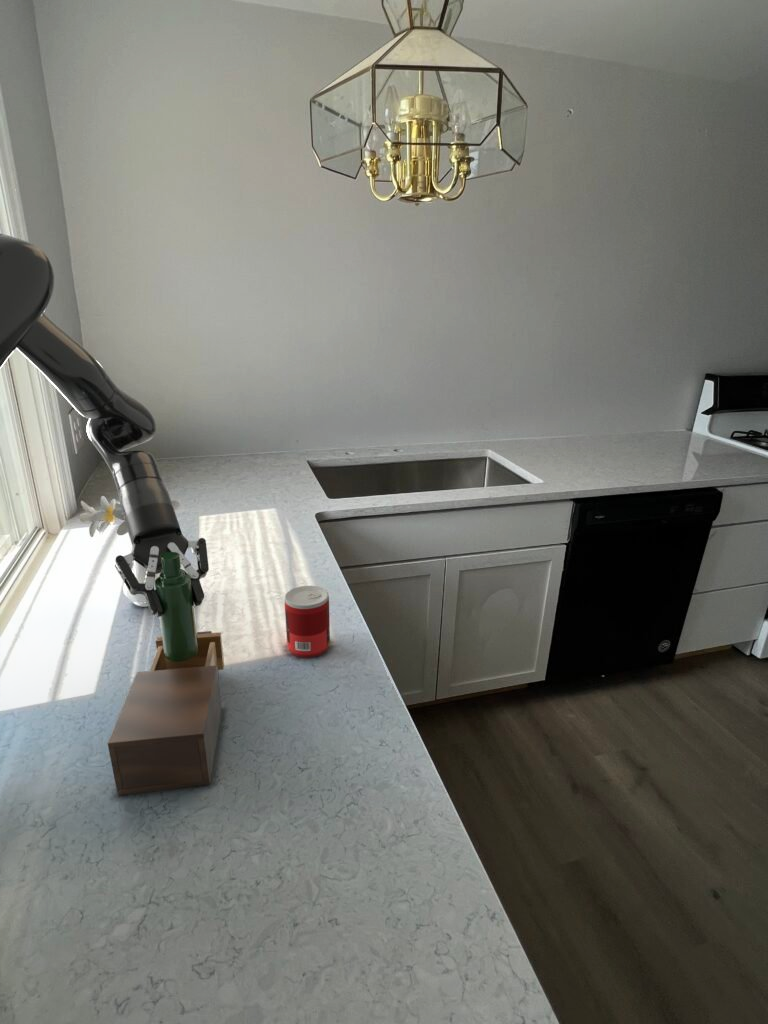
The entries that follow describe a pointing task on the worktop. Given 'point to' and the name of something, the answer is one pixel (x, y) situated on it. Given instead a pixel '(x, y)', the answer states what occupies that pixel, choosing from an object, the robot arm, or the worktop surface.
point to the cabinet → (167, 730)
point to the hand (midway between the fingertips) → (179, 609)
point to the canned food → (307, 621)
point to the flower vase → (109, 517)
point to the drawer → (206, 655)
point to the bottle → (176, 610)
